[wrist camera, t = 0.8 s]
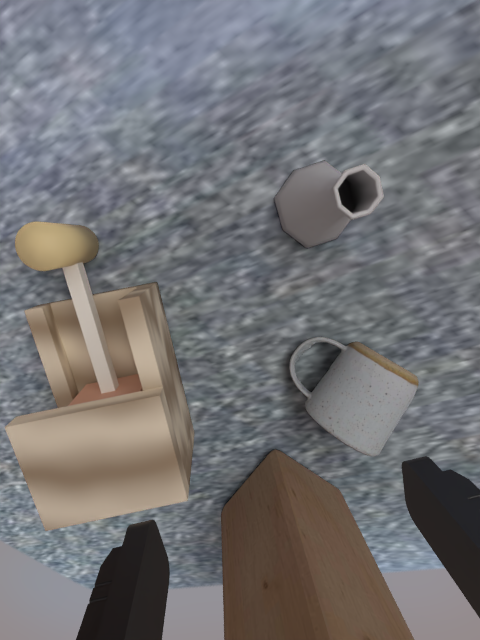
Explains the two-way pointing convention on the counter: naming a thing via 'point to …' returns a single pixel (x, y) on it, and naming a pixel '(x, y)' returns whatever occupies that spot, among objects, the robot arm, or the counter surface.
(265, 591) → the wooden block
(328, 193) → the flask
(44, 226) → the pull block
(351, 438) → the ceramic mug
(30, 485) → the shelf
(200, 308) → the counter surface
